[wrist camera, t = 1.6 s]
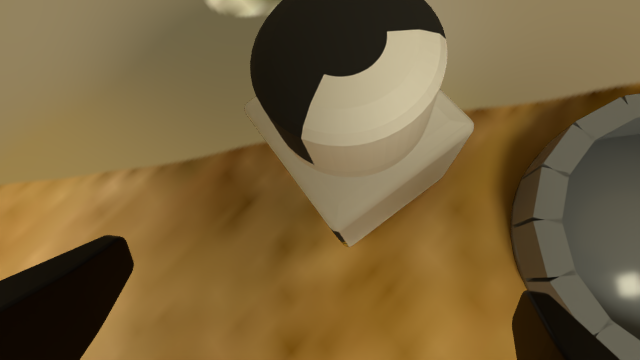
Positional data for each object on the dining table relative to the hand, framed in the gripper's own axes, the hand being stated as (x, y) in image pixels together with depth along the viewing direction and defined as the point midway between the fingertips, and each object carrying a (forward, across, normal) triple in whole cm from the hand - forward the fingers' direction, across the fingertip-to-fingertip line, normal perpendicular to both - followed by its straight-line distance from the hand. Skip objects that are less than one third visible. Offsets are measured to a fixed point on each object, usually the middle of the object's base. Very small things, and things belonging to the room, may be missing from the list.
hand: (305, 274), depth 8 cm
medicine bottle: (+14, 0, +4) cm, 14 cm away
